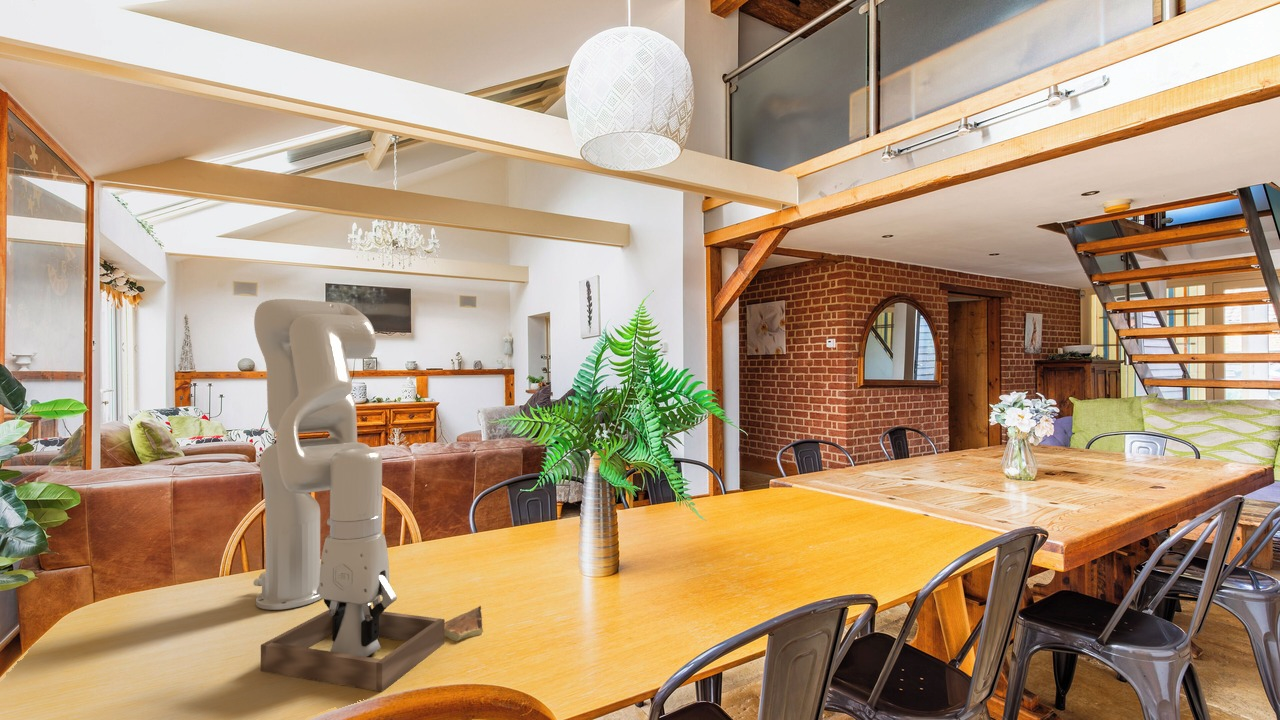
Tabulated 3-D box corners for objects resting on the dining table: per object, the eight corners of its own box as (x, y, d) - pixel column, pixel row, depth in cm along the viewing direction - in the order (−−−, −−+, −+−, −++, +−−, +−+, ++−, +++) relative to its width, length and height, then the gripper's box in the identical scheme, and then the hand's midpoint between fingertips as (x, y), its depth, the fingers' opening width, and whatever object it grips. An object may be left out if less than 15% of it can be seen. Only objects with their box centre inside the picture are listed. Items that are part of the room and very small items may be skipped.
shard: (480, 613, 110) (480, 603, 110) (509, 622, 106) (509, 612, 106) (433, 636, 101) (433, 625, 101) (463, 647, 97) (463, 636, 97)
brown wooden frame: (260, 671, 88) (260, 644, 88) (336, 628, 103) (336, 605, 103) (382, 691, 82) (382, 663, 83) (444, 643, 97) (444, 619, 97)
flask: (343, 668, 88) (344, 602, 88) (321, 653, 92) (321, 590, 92) (388, 649, 94) (389, 587, 94) (366, 636, 98) (366, 577, 98)
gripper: (294, 529, 92) (293, 643, 92) (384, 538, 87) (384, 659, 87) (331, 516, 99) (330, 623, 99) (416, 524, 94) (416, 636, 94)
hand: (355, 638), depth 93 cm, fingers closed on flask, 4 cm apart
